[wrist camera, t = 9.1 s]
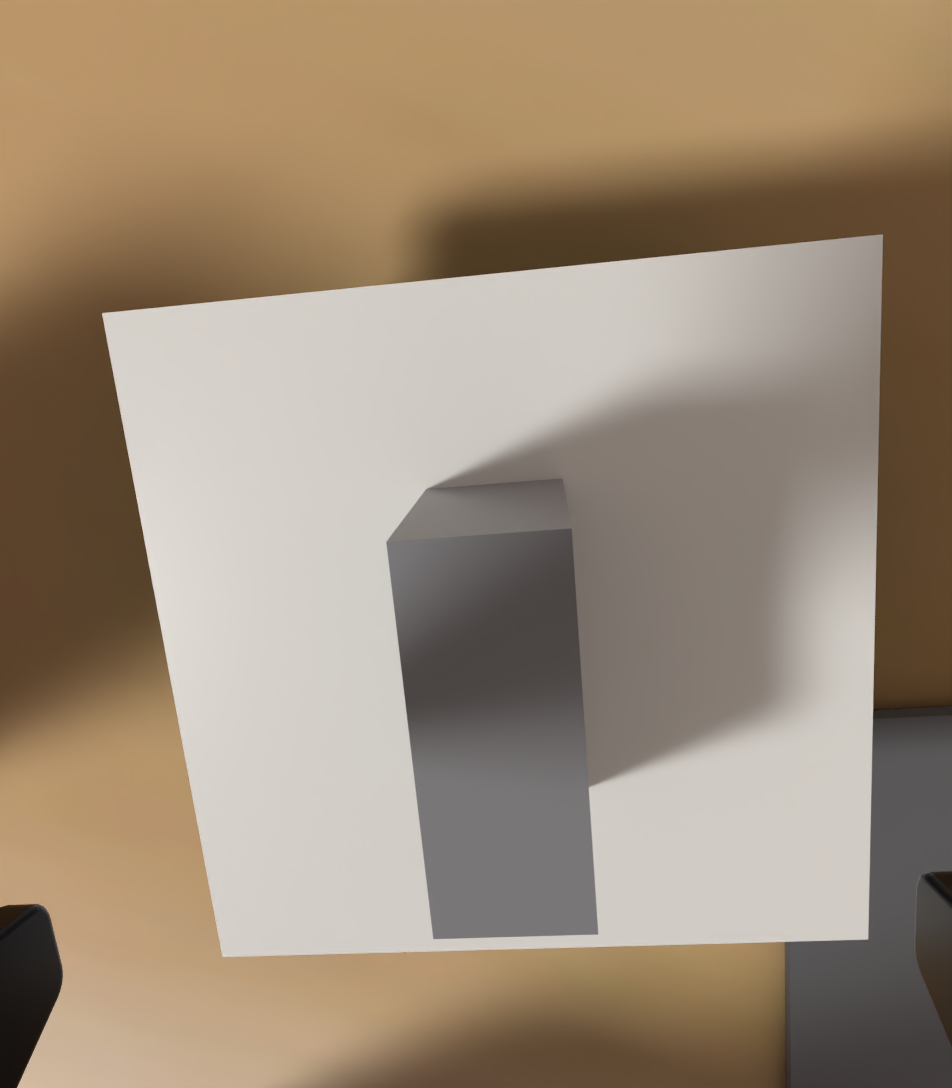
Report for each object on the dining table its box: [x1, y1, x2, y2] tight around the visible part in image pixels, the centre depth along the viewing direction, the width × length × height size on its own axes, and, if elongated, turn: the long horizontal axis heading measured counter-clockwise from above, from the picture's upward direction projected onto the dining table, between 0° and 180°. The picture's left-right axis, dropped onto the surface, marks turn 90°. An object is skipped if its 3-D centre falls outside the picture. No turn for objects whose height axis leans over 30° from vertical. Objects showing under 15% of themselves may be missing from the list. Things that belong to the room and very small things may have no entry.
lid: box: [102, 234, 883, 957], centre depth 14 cm, size 13×13×5 cm
